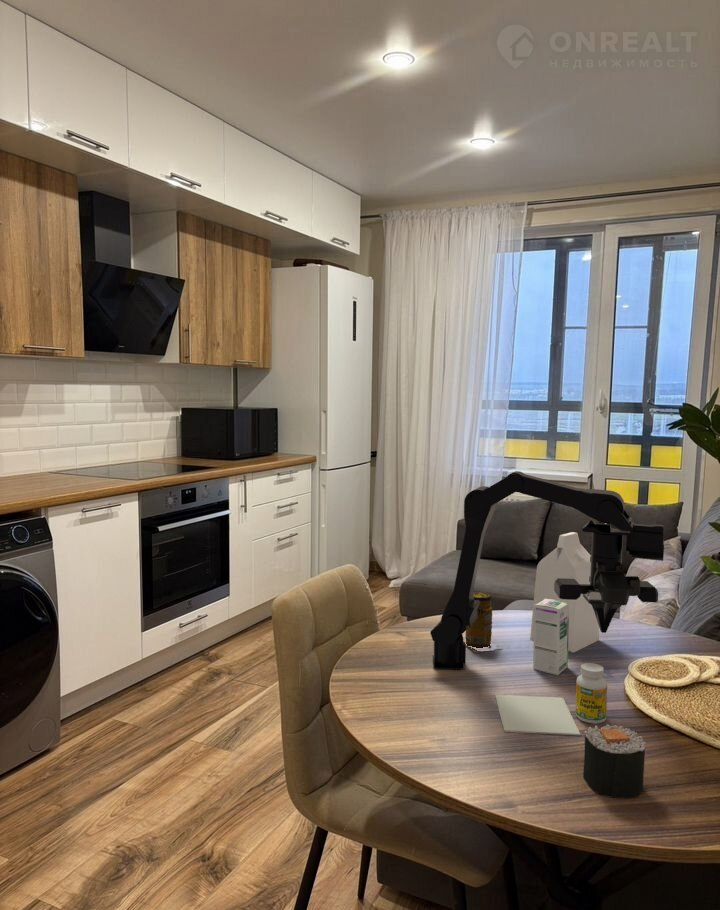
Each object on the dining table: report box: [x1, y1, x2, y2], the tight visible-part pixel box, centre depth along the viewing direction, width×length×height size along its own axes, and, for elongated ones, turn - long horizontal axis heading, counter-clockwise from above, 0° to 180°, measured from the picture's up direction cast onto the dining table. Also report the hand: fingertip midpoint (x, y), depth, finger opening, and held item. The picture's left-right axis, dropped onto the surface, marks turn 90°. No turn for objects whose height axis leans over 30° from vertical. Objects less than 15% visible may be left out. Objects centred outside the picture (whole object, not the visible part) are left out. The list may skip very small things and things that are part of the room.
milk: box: [529, 531, 600, 653], centre depth 161 cm, size 12×12×26 cm
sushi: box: [582, 724, 647, 799], centre depth 102 cm, size 8×8×8 cm
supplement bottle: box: [575, 662, 608, 725], centre depth 122 cm, size 5×5×10 cm
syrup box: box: [532, 599, 569, 676], centre depth 144 cm, size 6×6×14 cm
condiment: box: [463, 591, 498, 653], centre depth 157 cm, size 7×8×12 cm
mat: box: [494, 694, 581, 736], centre depth 124 cm, size 13×14×1 cm
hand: (603, 632), depth 133 cm, fingers closed
